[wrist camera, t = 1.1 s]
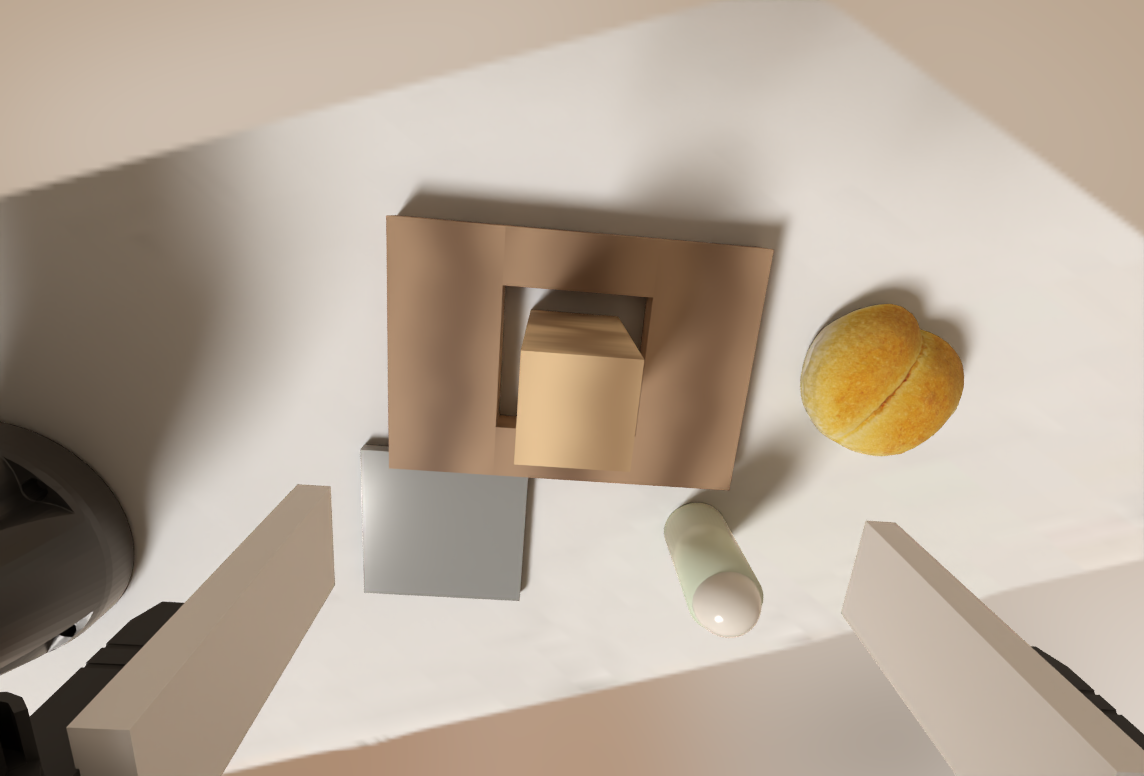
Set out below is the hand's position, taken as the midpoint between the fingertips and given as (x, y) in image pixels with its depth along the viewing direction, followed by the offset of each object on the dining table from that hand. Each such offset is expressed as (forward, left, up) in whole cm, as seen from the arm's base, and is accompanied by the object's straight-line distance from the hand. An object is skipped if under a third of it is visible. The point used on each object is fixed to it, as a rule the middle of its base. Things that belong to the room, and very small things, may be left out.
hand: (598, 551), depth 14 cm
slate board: (-7, -12, -20) cm, 24 cm away
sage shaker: (+9, -11, -20) cm, 24 cm away
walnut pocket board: (0, 0, -20) cm, 20 cm away
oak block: (0, 0, -20) cm, 20 cm away
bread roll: (+18, 0, -20) cm, 27 cm away
